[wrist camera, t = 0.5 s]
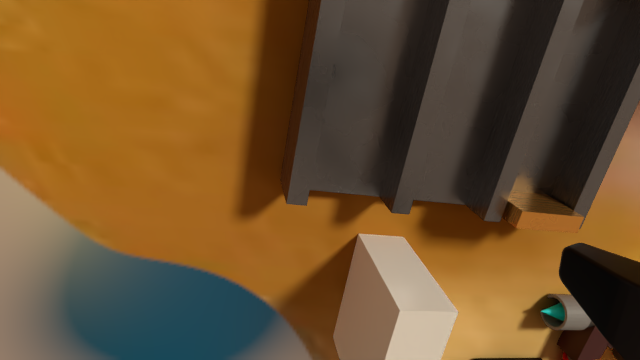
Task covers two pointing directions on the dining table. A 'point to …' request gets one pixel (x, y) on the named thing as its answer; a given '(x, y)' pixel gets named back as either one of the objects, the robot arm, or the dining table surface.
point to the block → (391, 305)
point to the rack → (464, 104)
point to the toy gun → (575, 330)
